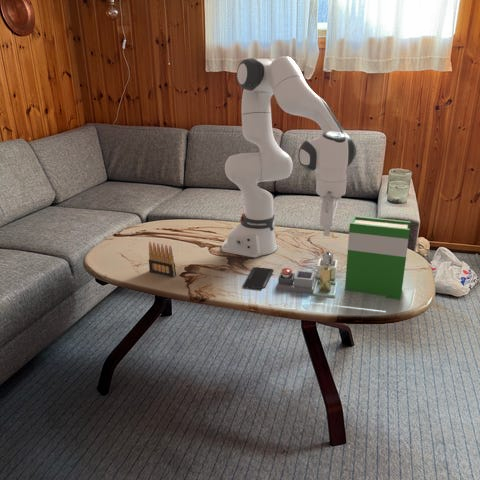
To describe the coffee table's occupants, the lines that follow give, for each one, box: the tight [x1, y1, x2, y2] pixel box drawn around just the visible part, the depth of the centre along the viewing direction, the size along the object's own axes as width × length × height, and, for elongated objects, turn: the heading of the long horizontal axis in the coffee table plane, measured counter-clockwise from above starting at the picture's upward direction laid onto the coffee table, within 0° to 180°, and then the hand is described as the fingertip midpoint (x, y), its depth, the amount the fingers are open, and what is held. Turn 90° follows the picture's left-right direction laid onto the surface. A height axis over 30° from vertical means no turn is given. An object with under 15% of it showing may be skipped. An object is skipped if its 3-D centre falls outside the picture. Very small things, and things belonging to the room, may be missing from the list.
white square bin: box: [316, 257, 338, 280], centre depth 162 cm, size 6×6×5 cm
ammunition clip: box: [148, 241, 177, 278], centre depth 165 cm, size 11×2×12 cm, turn 63°
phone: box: [242, 266, 275, 291], centre depth 162 cm, size 8×1×15 cm
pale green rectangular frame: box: [312, 279, 338, 298], centre depth 153 cm, size 7×9×1 cm
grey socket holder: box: [276, 269, 317, 295], centre depth 155 cm, size 12×8×5 cm, turn 74°
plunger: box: [281, 267, 293, 279], centre depth 155 cm, size 3×3×3 cm
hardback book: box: [344, 215, 412, 301], centre depth 148 cm, size 18×7×24 cm, turn 69°
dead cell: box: [322, 251, 334, 267], centre depth 161 cm, size 4×4×9 cm
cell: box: [319, 267, 332, 293], centre depth 152 cm, size 4×4×9 cm
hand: (328, 229), depth 145 cm, fingers open, 8 cm apart
